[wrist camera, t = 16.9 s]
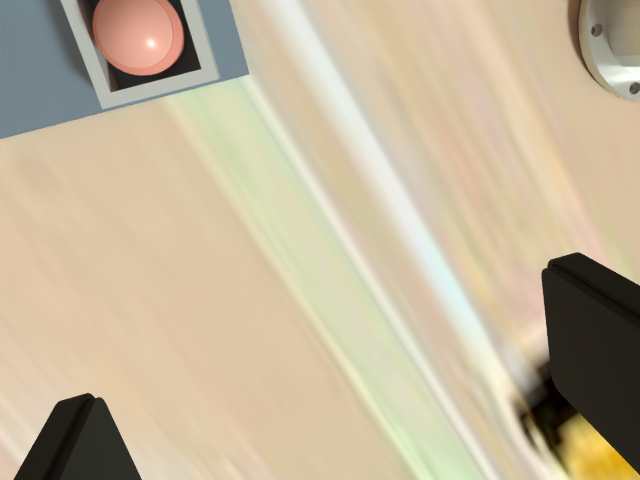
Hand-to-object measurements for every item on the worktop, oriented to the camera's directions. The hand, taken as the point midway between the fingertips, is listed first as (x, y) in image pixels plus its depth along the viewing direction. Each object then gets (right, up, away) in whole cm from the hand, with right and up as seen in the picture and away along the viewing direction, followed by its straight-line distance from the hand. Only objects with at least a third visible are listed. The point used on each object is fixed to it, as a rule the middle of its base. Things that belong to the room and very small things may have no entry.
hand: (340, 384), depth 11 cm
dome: (-11, +16, +21) cm, 29 cm away
